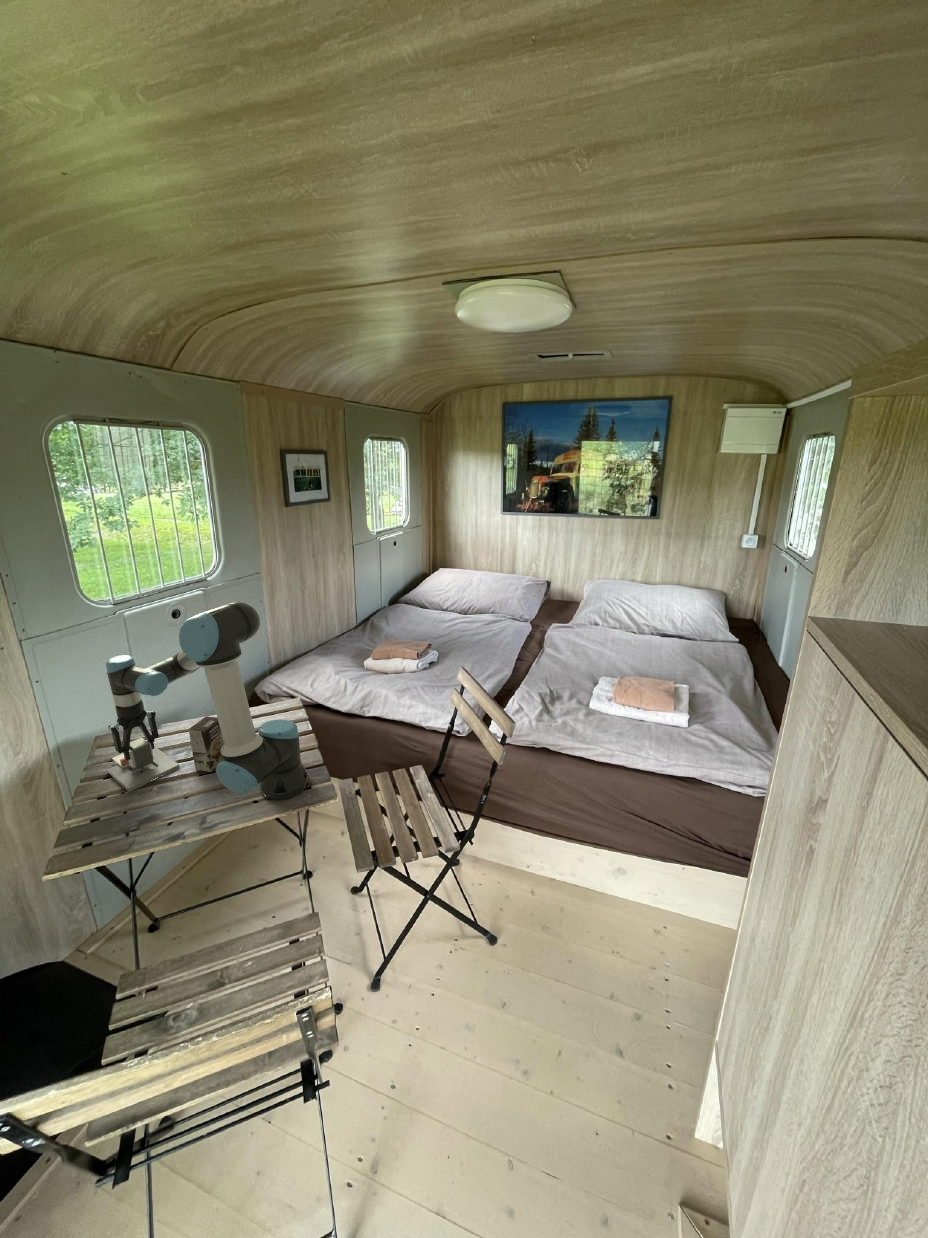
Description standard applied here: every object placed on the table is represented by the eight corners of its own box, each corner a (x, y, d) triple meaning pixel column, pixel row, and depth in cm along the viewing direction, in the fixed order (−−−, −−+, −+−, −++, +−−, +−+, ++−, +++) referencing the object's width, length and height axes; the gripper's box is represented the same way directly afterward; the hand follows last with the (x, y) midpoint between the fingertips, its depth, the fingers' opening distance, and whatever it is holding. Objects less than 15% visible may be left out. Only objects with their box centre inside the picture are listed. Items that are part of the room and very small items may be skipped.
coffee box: (211, 772, 171) (204, 731, 166) (194, 769, 172) (187, 729, 167) (228, 756, 180) (222, 717, 174) (212, 754, 181) (205, 715, 175)
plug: (153, 762, 171) (149, 742, 168) (137, 769, 167) (133, 749, 164) (146, 756, 173) (142, 736, 170) (130, 763, 169) (125, 743, 167)
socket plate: (179, 767, 173) (179, 764, 172) (129, 792, 160) (128, 788, 160) (157, 751, 181) (156, 747, 181) (107, 773, 169) (106, 769, 168)
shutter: (151, 755, 176) (149, 748, 175) (122, 768, 169) (121, 760, 168) (140, 747, 180) (138, 740, 179) (112, 759, 173) (110, 752, 172)
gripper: (152, 688, 171) (164, 746, 179) (91, 709, 157) (107, 771, 165) (163, 694, 167) (174, 753, 175) (102, 717, 153) (117, 780, 161)
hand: (141, 762), depth 170 cm, fingers closed on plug, 5 cm apart
